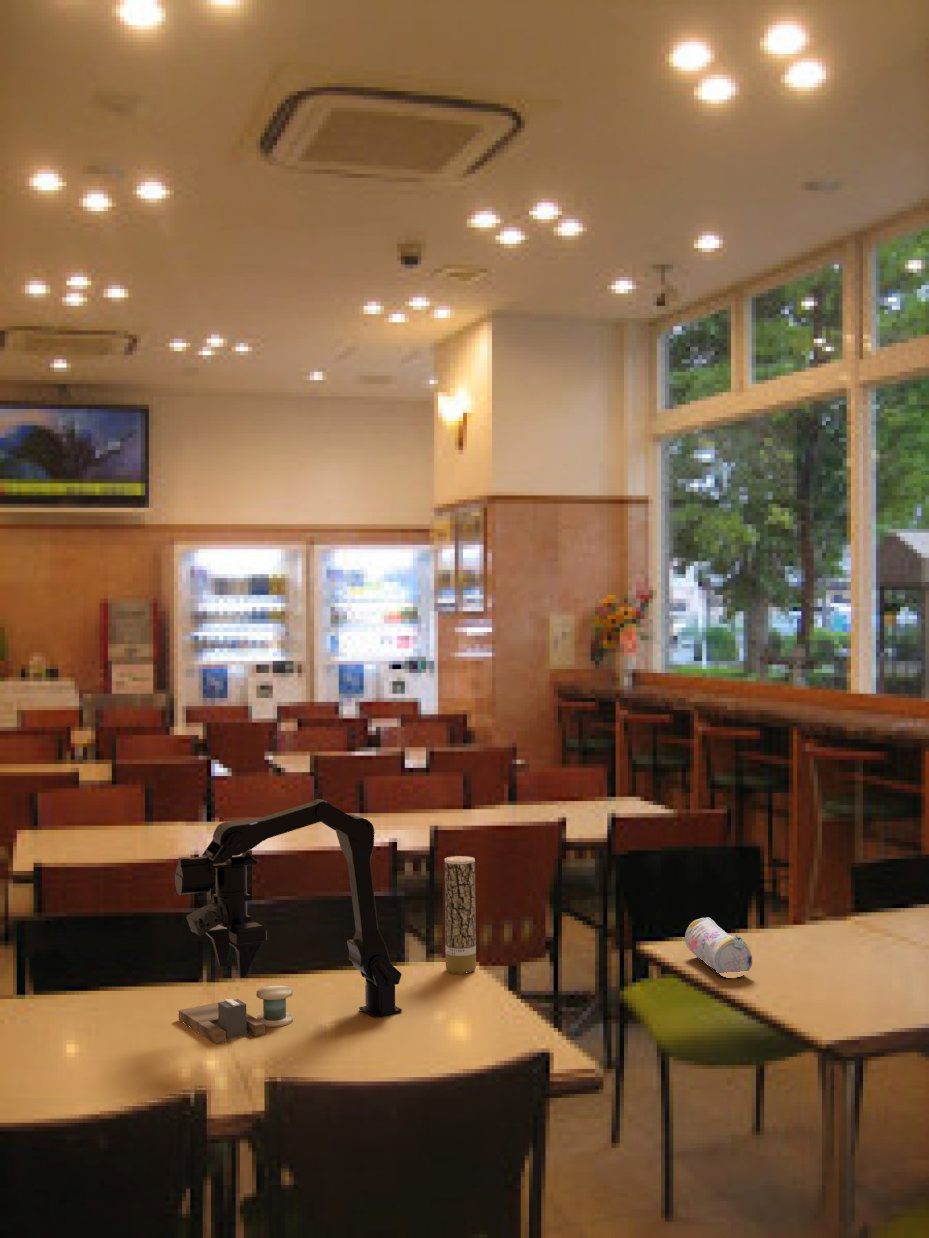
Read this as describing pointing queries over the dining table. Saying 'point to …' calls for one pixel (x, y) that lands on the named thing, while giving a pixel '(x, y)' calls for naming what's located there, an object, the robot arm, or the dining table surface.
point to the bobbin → (274, 1005)
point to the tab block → (232, 1018)
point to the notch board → (215, 1022)
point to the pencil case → (717, 947)
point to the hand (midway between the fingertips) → (232, 971)
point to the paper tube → (460, 914)
